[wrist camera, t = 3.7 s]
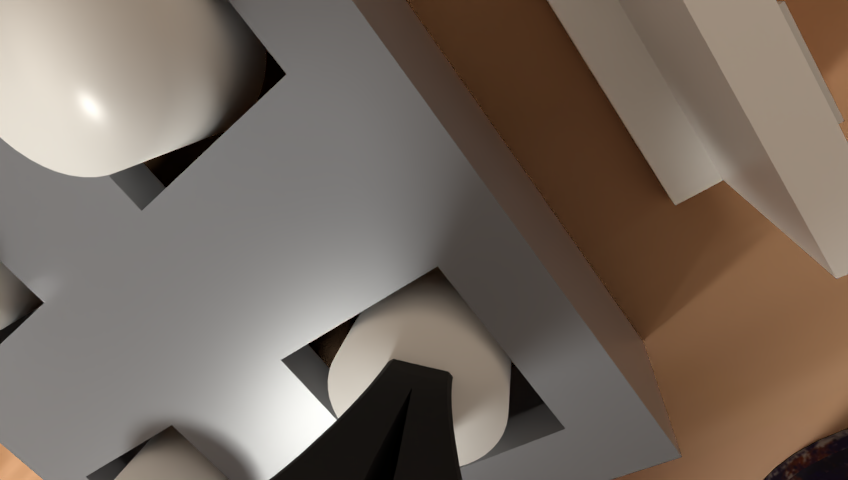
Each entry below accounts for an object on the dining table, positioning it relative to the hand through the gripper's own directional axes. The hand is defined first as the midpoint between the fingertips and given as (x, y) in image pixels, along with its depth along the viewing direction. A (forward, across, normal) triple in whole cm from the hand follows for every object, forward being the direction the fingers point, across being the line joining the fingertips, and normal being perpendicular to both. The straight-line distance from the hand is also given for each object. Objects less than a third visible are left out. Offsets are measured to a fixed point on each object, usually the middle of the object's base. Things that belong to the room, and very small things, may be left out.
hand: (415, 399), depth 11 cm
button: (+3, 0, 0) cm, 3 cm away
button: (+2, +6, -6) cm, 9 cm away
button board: (+4, +6, 0) cm, 8 cm away
